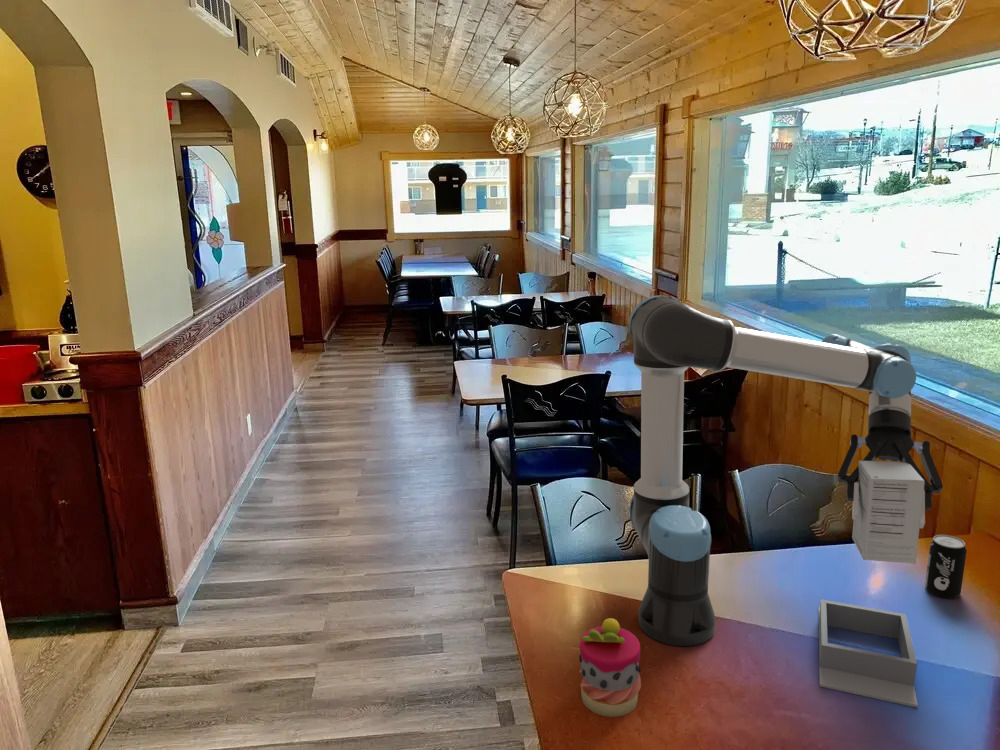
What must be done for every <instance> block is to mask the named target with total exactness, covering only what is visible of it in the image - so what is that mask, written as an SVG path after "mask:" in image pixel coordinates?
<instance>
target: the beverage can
mask: <svg viewBox="0 0 1000 750" xmlns="http://www.w3.org/2000/svg"><path fill="white" fill-rule="evenodd" d="M967 551H968V550H967V548H966V543H965V541H964V540H963V539H961V538H959V537H957V536H953V535H950V534H949V535H948V534H937V535H934V536H933V538H932V541H931V542H930V544H929V551H928V557H927V558H928V559H927V566H926V574H925V582H924V586H925V588H926V589H927V591H928V592H929V593H930V594H932V595H934V596H935V597H938V598H941V599H942V598H943V599H955V598H957V597H958V596H960V595H961V594H962V593H961V592H962V589H963V588H962V586H963V580H964V579H963V578H964V572H965V564H966V558H967Z"/></svg>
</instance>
